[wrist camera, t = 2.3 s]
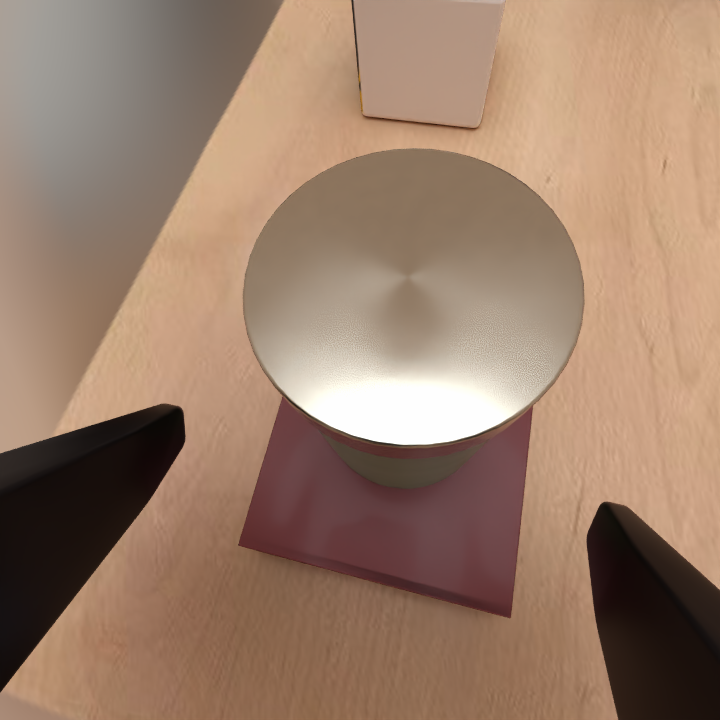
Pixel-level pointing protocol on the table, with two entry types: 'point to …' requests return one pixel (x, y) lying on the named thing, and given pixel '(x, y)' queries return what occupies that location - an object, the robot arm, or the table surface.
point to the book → (394, 517)
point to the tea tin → (413, 308)
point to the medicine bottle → (426, 58)
